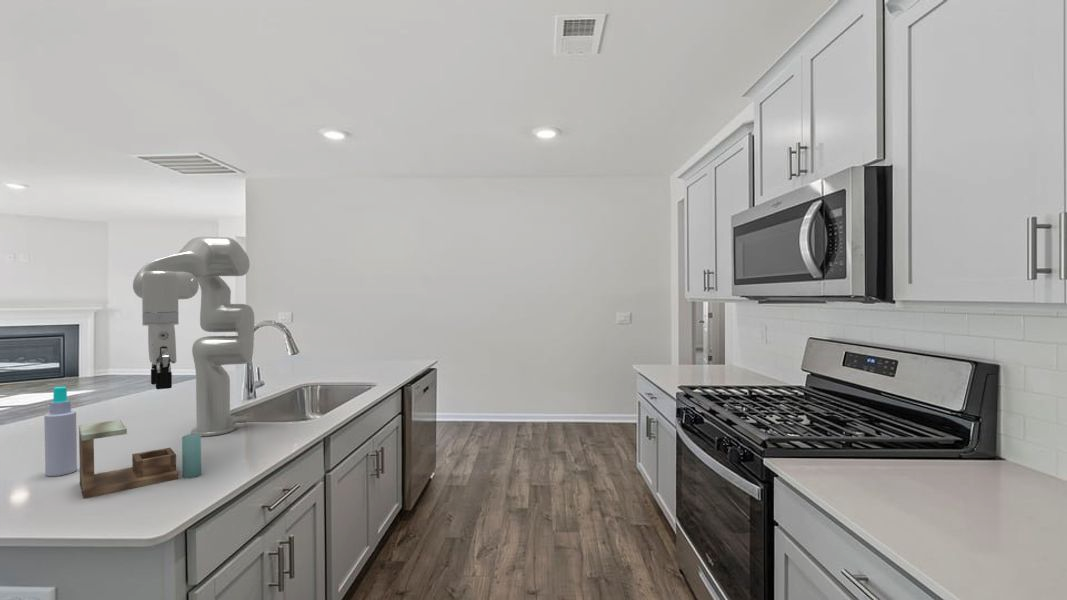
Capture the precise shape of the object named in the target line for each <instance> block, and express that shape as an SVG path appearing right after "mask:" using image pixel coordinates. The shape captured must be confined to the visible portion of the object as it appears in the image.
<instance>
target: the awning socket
mask: <svg viewBox="0 0 1067 600" xmlns="http://www.w3.org/2000/svg"><path fill="white" fill-rule="evenodd" d="M127 430H128V429H127V427H126V426H125V424H124V422H123V420H122V419H117V420H116V419H115V420H110V421H108V420H107V421H103V422H95V423H87V424H79V425H78V434H79V435H78V439H79V440H78V441H79V443H78V447H79V451H78V453H79V454H78V455H79V485H80V486H79V487H80V490H82V491H81V494H82V495H81V496H82V498H83V499H87V498H92V497H97V496H102V495H106V494H111V493H116V492H121V491H125V490H130V489H136V488H140V487H146V486H150V485H155V484H160V483H164V482H170V481H174V480H179V472H178V470H177V454H176V452H175V451H174V450H173V449H172V448H171V447H165V448H159V449H155V450H148V451H144V452H143V451H142V452H137V453H132V455H131V456H132V457H131V458H132V459H131V461H132V462H131V463H132V467H126V468H120V469H115V470H110V471H103V472H97V473H95V441H94V440H96V439H103V438H109V437H117V436H123V435H127V434H128V431H127Z"/></svg>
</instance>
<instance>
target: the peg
mask: <svg viewBox="0 0 1067 600" xmlns="http://www.w3.org/2000/svg"><path fill="white" fill-rule="evenodd" d="M181 442H182V443H181V455H182V461H181V462H182V463H181V465H182V471H181V472H182V478H183V479H192V478H197V477H200V476H201V475H202V436H201V435H200V434H191V433H190V434H186V435H183V436H182V437H181Z"/></svg>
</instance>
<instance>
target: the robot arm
mask: <svg viewBox="0 0 1067 600" xmlns="http://www.w3.org/2000/svg"><path fill="white" fill-rule="evenodd" d="M249 269H250V259H249V256H248V254H247V253H246V250H244V248H243V247H242V246H241V245H240V243H239V242H238V241H236V240H235V239H233V238H231V237H220V236H219V237H218V236H216V237H215V236H199V237H198V236H197V237H193V238H192V239H190V240H189V241H188V242H187V243H186V244H184V245H183V247H182V249H180V250H179V251H178V253H174V254H171V255H168V256H164V257H162V258H158V259H155V260H152V261H150V262H147V263H146V264H145V265H143V266H142V267H141V268H140V270H138V272H137V273H136V275H135V276H134V279H133V280H132V281H133V282H132V289H133V292H134V294H135V295H136V296H137V297H138V298H140V299H141V300H142V301H141V302H142V305H141V306H142V308H141V309H142V311H141V312H142V315H141V316H142V326H146V327H147V333H148V334H147V337H148V338H147V340H148V341H147V343H148V359H149V362H150V363H151V369H150V384H151V385H155V389H156V390H165V389H166V390H167V389H172V387H173V380H172V376H173V374H172V373H173V372H172V368H171V367H172V365H171V363H172V364H176V363H177V346H176V345H177V344H176V343H177V342H176V330H175V329H176V327H175V325H179V300H188V299H191V298H194V296H196V295H197V293H198V291H199V289H200V290H201V291H200V293H201V296H200V312H199V313H200V314H199V325H200V328H201V330H203V331H204V332H206V333H207V332H208V333H236V334H237V335H227V336H226V335H209V336H203V337H200V338H197V339H196V340H194V342H193V344H192V347H191V348H192V349H191V352H192V353H191V354H192V359H193V363H194V369H195V392H196V393H195V394H196V395H195V396H196V397H195V401H196V403H195V405H196V407H195V408H196V410H195V411H196V412H195V413H196V416H195V417H196V427H194V428H192V429H191V431H190V435H191V434H200V435H201V437H212V436H218V435H223V434H228V433H231V432H233V431H235V430H236V424H238V423H244V422H245V423H246V422H247V416H246V415H243V416H241V415H240V416H238V415H237V416H233V415H231V383H230V382H231V380H230V375H229V374H228V372H227V370H226V369H225V368H224V367H223V366H225V365H227V366H228V365H245V364H248V363H250V361H251V360H252V359H253V355H254V344H255V343H254V341H255V340H254V339H255V313H254V310H253V308H252V306H250V305H248V304H245V303H231V299H232V298H231V296H232V295H231V294H232V291H231V287H229V285H228V284H227V282H225V280H224V279H222V278H221V277H242V276H245V275H246V274H248V272H249ZM199 286H200V288H199Z"/></svg>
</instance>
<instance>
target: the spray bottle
mask: <svg viewBox="0 0 1067 600" xmlns="http://www.w3.org/2000/svg"><path fill="white" fill-rule="evenodd" d="M67 389H68V388H67V386H57V387H53V396H52V397H53V401H50V402H49V412H48V413H46V414H44V462H45V464H44V468H45V470H44V471H45V473H44V474H45V476H47V477H60V476H65V474H66V475H69V473H70V474H72V473H74V472H76V471H77V470H78V451H77V450H78V445H77V444H78V443H77V442H78V441H77V440H78V439H77V435H78V434H77V412H76V410H72V408H71V407H72V406H71V400H70V399H68V398H67V397H68V393H67V392H68V391H67Z"/></svg>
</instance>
